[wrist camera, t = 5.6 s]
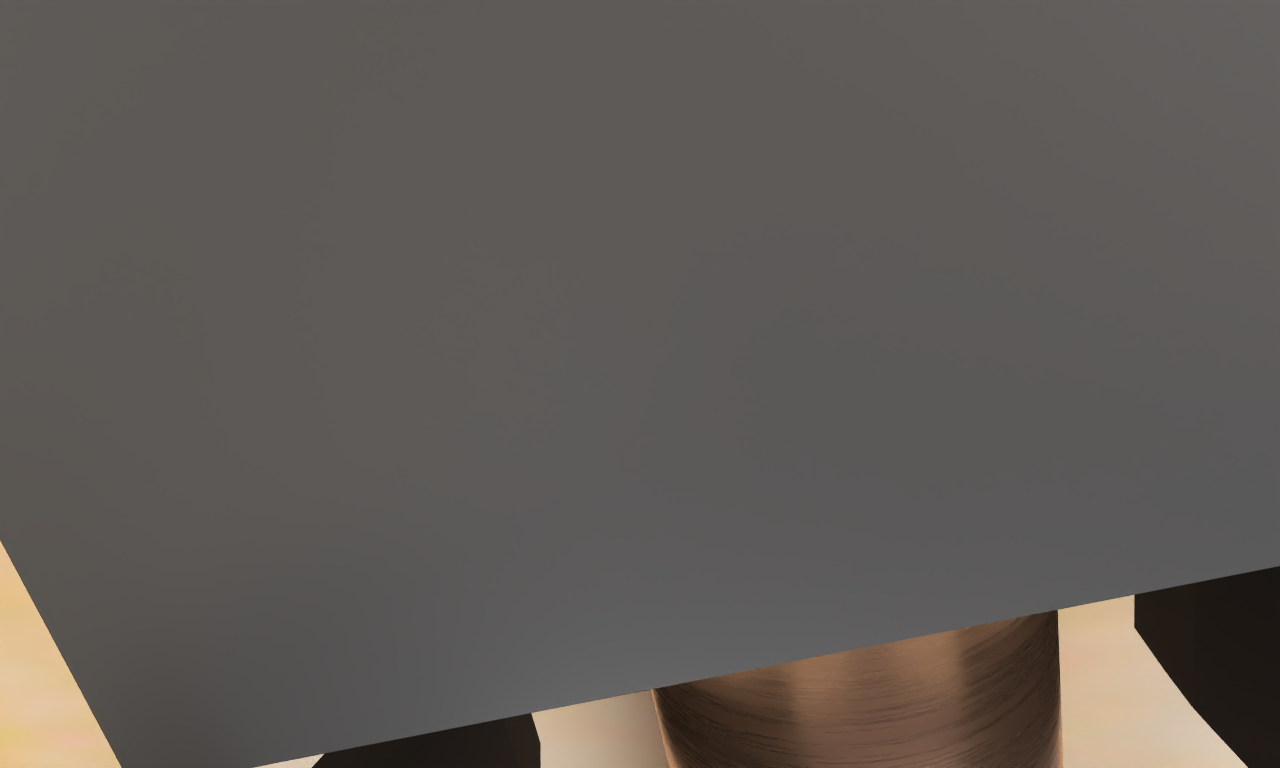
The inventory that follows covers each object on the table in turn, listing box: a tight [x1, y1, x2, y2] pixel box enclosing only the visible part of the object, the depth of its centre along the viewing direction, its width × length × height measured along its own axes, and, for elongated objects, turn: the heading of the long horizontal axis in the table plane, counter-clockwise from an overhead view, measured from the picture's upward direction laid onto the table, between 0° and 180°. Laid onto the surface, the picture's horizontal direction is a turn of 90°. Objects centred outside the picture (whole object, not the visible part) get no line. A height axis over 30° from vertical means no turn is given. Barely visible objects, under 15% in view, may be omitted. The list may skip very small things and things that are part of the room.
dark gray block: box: [0, 0, 1280, 768], centre depth 6 cm, size 9×5×6 cm, turn 101°
